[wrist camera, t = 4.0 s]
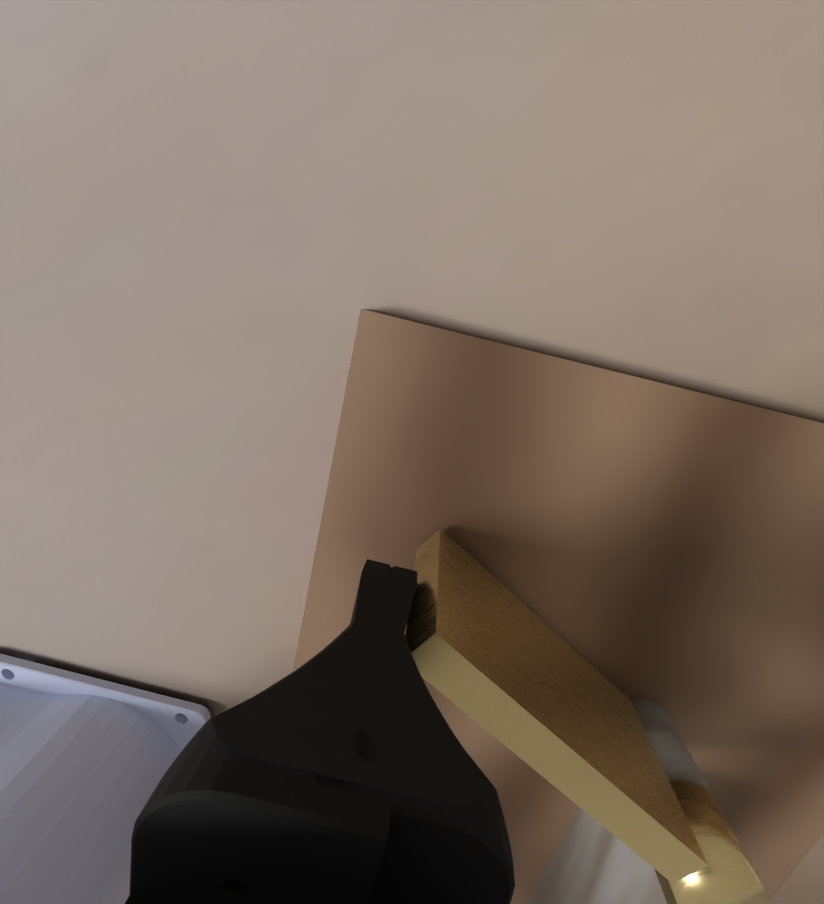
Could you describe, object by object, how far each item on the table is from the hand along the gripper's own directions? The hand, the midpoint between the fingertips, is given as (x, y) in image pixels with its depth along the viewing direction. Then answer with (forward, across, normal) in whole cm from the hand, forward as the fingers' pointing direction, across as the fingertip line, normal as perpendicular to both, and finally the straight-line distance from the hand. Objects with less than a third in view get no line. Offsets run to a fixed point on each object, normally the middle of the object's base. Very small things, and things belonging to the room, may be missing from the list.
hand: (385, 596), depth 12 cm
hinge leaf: (+2, -6, +2) cm, 6 cm away
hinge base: (+3, -8, +4) cm, 9 cm away
